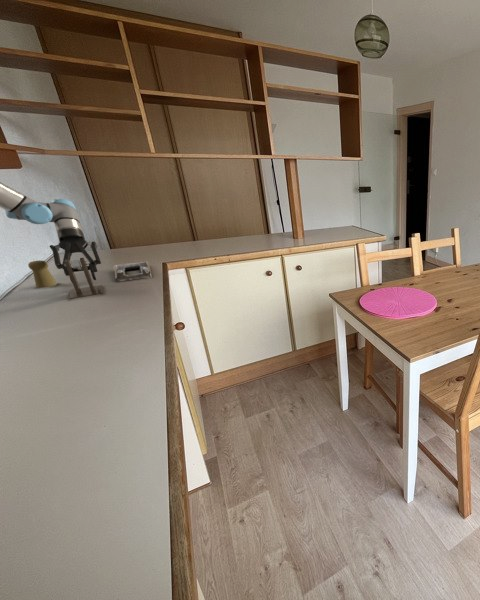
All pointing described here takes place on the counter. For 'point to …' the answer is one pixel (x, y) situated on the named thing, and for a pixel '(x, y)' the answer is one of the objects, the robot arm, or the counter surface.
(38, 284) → the cork
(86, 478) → the counter surface
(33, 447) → the counter surface
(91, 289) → the bracket
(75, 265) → the tap lever
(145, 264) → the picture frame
